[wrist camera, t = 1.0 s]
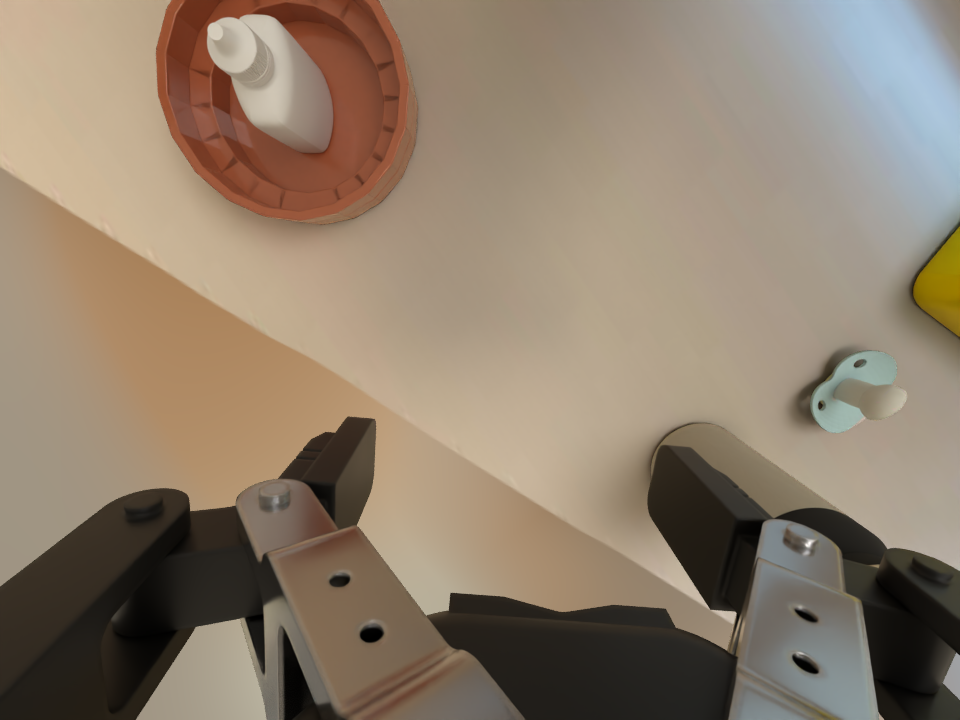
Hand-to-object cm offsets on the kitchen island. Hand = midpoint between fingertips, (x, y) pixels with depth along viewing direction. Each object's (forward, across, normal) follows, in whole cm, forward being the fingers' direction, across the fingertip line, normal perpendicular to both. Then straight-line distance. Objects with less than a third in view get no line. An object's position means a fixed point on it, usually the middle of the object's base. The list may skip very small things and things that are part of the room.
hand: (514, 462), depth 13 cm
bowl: (+24, +14, -14) cm, 31 cm away
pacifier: (+24, -30, +3) cm, 39 cm away
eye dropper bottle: (+24, +14, -14) cm, 31 cm away
